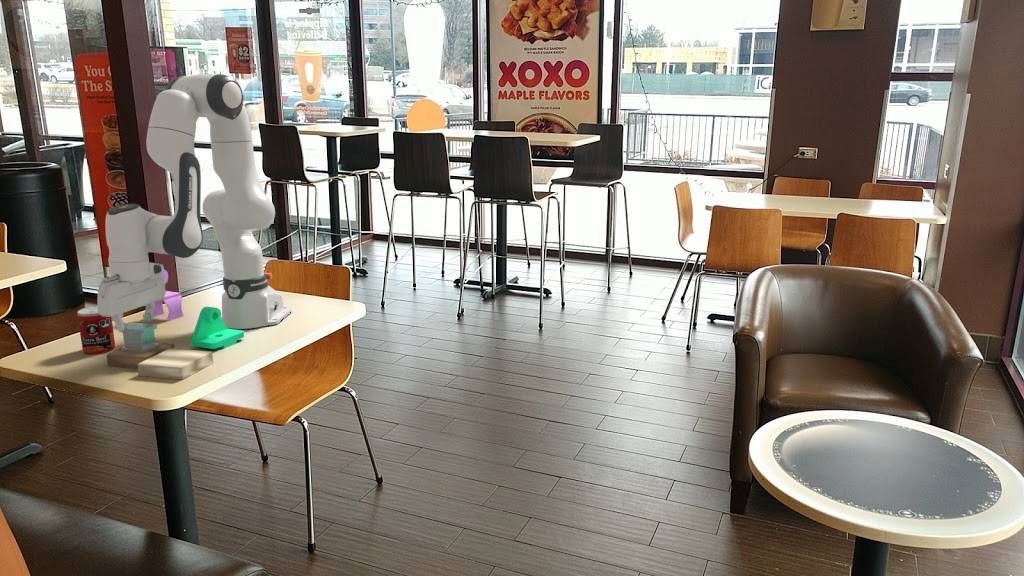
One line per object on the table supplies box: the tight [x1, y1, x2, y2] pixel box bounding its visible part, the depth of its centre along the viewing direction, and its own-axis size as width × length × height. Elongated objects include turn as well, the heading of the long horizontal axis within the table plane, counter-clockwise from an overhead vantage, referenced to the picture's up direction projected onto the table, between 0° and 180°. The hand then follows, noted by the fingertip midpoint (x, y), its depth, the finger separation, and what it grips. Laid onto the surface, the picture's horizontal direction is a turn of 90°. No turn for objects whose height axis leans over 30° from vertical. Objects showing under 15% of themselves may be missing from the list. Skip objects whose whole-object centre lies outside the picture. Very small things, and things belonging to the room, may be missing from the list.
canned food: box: [76, 305, 116, 355], centre depth 202 cm, size 8×8×11 cm
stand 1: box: [105, 342, 175, 369], centre depth 195 cm, size 11×11×3 cm
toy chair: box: [152, 269, 184, 322], centre depth 232 cm, size 8×9×15 cm
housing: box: [118, 322, 160, 353], centre depth 194 cm, size 5×7×6 cm
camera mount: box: [190, 306, 245, 350], centre depth 207 cm, size 12×8×10 cm, turn 157°
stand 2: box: [137, 348, 214, 381], centre depth 188 cm, size 12×12×3 cm
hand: (135, 325), depth 192 cm, fingers open, 8 cm apart
